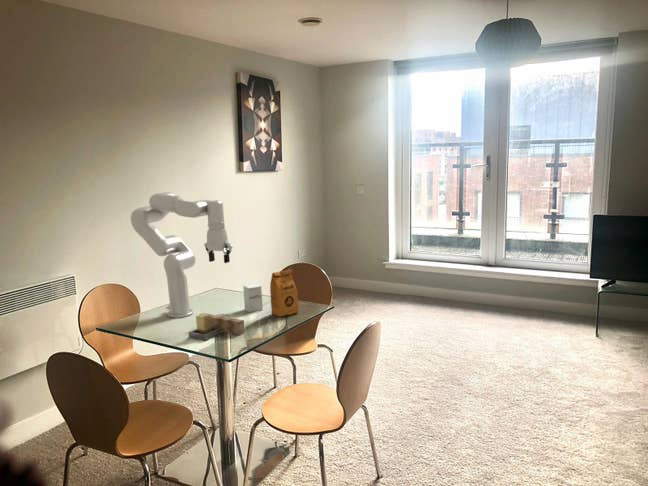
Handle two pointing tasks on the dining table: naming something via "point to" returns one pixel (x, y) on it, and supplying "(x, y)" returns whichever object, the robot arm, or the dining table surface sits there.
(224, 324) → the brown plank
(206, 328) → the block
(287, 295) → the coffee package
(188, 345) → the dining table surface
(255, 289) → the supplement box
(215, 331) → the grey square tray
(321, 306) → the dining table surface
